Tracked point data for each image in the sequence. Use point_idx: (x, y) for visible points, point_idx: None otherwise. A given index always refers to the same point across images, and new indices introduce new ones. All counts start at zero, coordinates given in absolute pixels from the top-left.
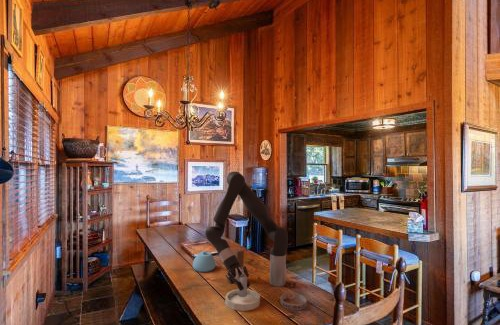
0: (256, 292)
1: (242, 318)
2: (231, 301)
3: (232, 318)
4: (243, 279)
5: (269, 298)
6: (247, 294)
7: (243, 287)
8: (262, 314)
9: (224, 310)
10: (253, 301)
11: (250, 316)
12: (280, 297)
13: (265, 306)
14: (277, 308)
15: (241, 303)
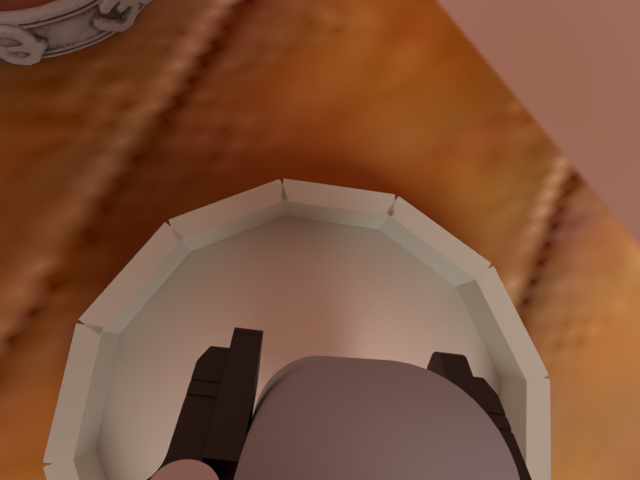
0: (94, 317)
1: (573, 213)
2: (533, 454)
3: (636, 290)
4: (472, 403)
5: (40, 188)
6: (126, 459)
7: (442, 358)
8: (400, 98)
9: (586, 464)
10: (261, 277)
11: (498, 170)
12: (24, 35)
13: (245, 141)
14: (215, 30)
15: (491, 307)
